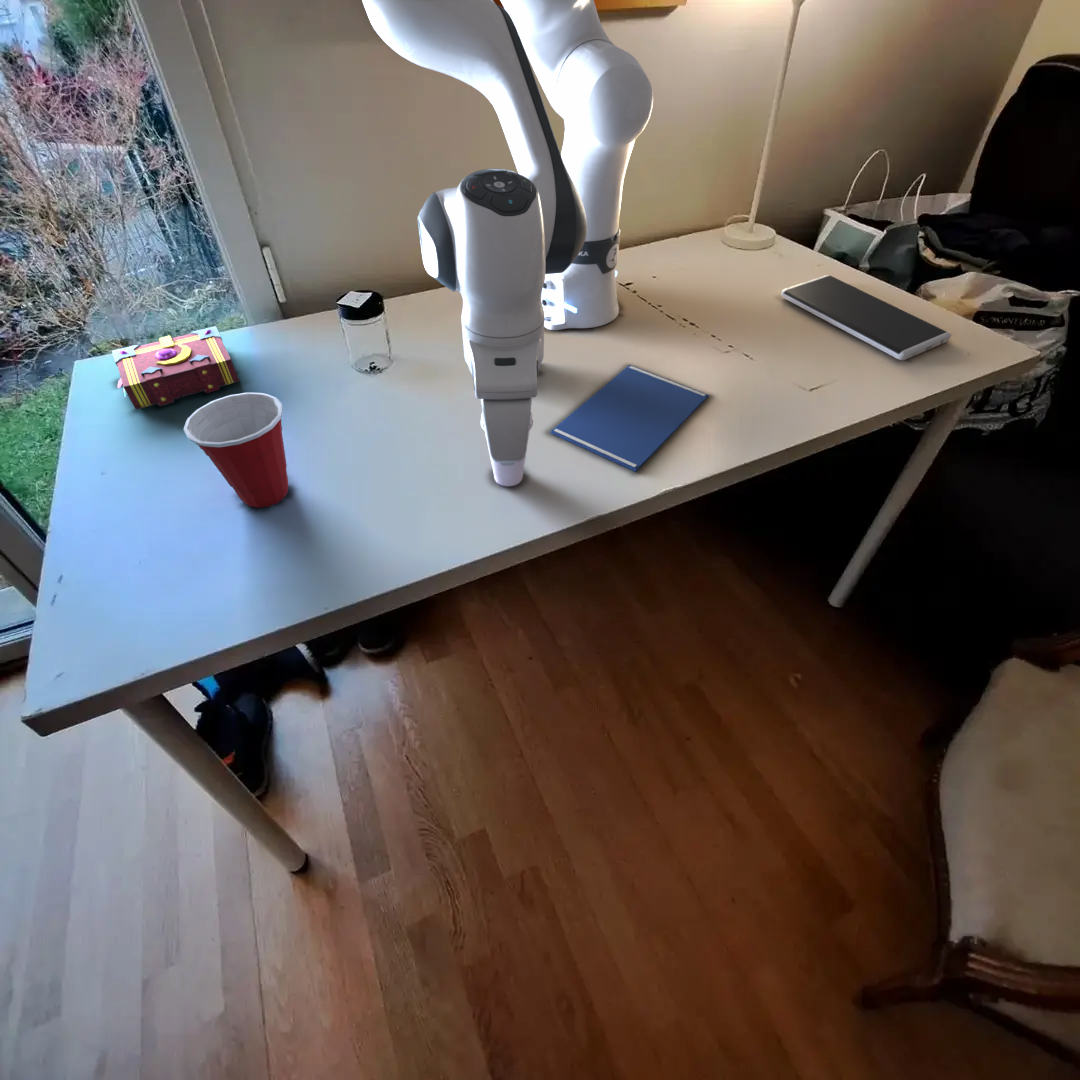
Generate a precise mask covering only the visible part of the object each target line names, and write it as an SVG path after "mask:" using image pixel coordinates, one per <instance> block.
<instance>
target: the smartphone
mask: <svg viewBox="0 0 1080 1080" xmlns="http://www.w3.org/2000/svg"><path fill="white" fill-rule="evenodd" d="M780 297H781V298H783V299H784V300H786V301H788V302H790V303H792V304H793V305H796V306H798V307H799V308H800V309H801V308H802V309H803V310H804V311H807V312H809V313H811V314H813V315H815V316H816V317H818V318H819V319H822V320H824V321H826V322H827V323H830V324H831V325H833V326H834V327H837V328H839V329H840V330H843V331H844V332H846V333H848V334H849V335H852V336H854V337H855V338H857V339H859V340H861V341H863V342H865V343H867V344H868V345H871V346H872V347H875V348H876V349H878V350H880V351H881V352H883V353H885V354H887V355H889V356H891V357H893V358H894V359H896V360H899V361H906V360H907V359H910V358H912V357H914V356H917V355H920V354H922V353H924V352H926V351H929V350H931V349H933V348H935V347H938V346H940V345H943V344H944V343H947V342H948V341H950V339H951V337H952V335H951V333H950V332H948V331H946V330H944V329H942V328H940V327H939V326H936V325H934V324H932V323H930V322H928V321H926V320H923V319H921V318H920V317H917V316H915V315H913V314H911V313H909V312H907V311H905V310H903V309H901V308H899V307H897V306H895V305H893V304H890V303H888V302H887V301H884V300H882V299H880V298H878V297H876V296H874V295H872V294H870V293H868V292H865V291H863V290H861V289H859V288H857V287H855V286H853V285H851V284H849V283H847V282H844V281H843V280H841V279H839V278H837V277H834V276H832V275H831V274H825V275H823V276H819V277H817V278H813V279H810V280H807V281H805V282H801V283H798V284H796V285H792V286H789V287H786V288H783V289H782V291H781V293H780Z"/></svg>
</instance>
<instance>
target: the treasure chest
mask: <svg viewBox="0 0 1080 1080" xmlns="http://www.w3.org/2000/svg"><path fill="white" fill-rule="evenodd" d="M111 353H112V357H113V360H114V363H115V365H116V367H117V370H118V373H119V376H120V378H119V380H118V382H117V384H116V385H117V388H118V389H120V388H121V387H122V389H123V396H124V397H126V395H127V397H128V398H129V400H130V402H131V403H132V406H133V408H134V410H139V409H143V408H147V407H151V406H155V405H158V406H159V407H161V406H166V405H169V404H172V403H175V401H174V400H177V399H180V398H184V397H188V396H191V395H194V394H195V395H196V394H199V393H202V392H205V394H210V393H213V392H217V391H220V390H221V388H220V387H225V386H228V385H231V384H236V383H238V382H240V379H239V376H238V374H237V371H236V368H235V366H234V363H233V360H232V358H231V356H230V354H229V352H228V350H227V348H226V346H225V343H224V342H223V338H222V336H221V334H220V332H219V329H218V328H217V325H213V326H210V327H206V328H201V329H197V330H194V331H190V332H189V333H187V334H183V335H179V336H173V337H171V335H167V336H163V337H159V339H158V341H153V342H149V343H144V344H141V345H140V344H135V345H130V346H126V347H122V348H118V349H113V350H111Z"/></svg>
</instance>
